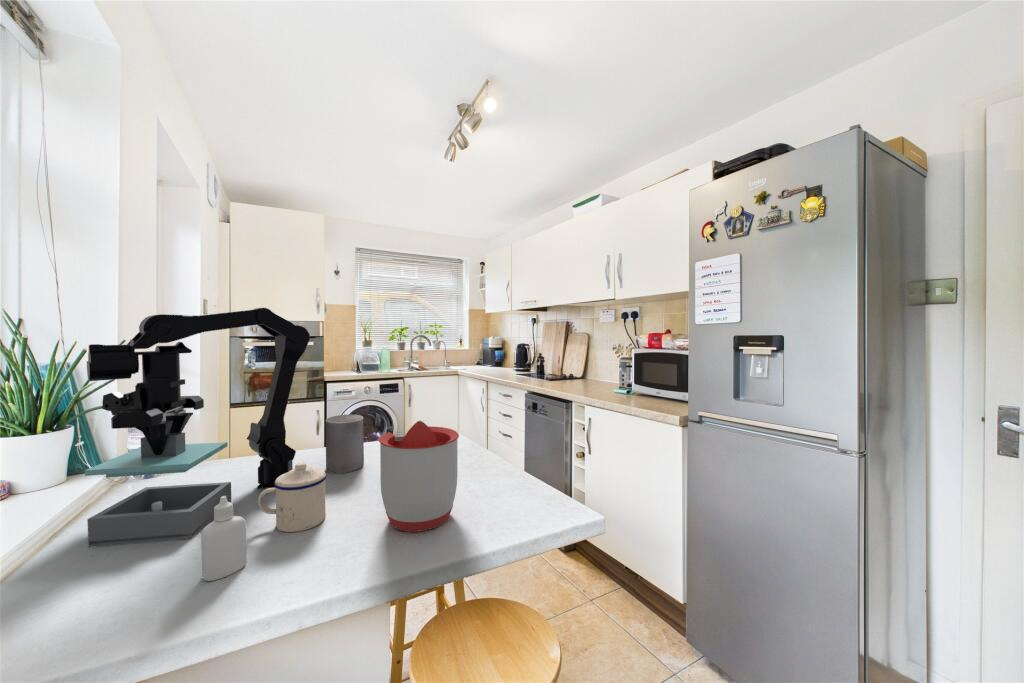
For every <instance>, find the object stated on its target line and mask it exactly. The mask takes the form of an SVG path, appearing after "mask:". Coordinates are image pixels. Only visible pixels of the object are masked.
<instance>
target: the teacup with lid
mask: <svg viewBox="0 0 1024 683" xmlns="http://www.w3.org/2000/svg"><path fill="white" fill-rule="evenodd" d="M326 479H327V474H326V472H325V471H324V470H322V469H320V468H313V467H310V466H307V463H306V462H297V463H296V464H295V465H294V468H293V469H292V470H290V471H289V472H287V473H285V474H282V475H281V476H279V477H278V478H277V479H276V481H275V483H274V486H275V487H276V488H265V489H264V490H263V491H262V492H260V494H259V495H258V498H257V503H258V507H259V509H260V510H261V511H262V512H263V513H265V514H268V515H275V521H276V522H275V524H276V526H275V527H276V528H277V529H278V530H279V531H281V532H284V533H296V532H303V531H307V530H310V529H312V528H314V527H316V526H318V525H320V524H321V523H323V521H324V520H325V518H326V515H327V514H326ZM271 493H275V508H270V507H268V506H266V504H265V502H264V496H265V495H267V494H271Z"/></svg>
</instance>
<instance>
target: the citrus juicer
mask: <svg viewBox="0 0 1024 683" xmlns="http://www.w3.org/2000/svg"><path fill="white" fill-rule="evenodd" d="M395 437H396V435H395V434H393V433H392V432H390V431H387V432H386V433H384V434H382V435H381V436H380V437H379V438H378V442H379V445H380V447H379V448H380V451H379V453H380V458H379V460H380V463H379V464H380V468H379V469H380V493H381V498H382V502H383V503H382V504H383V507H384V510H385V514H386V516H387V519H388V521H389V523H390V524H391V526H392V527H394V528H396V529H397V530H400V531H404V532H410V533H417V532H422V531H428V530H431V529H432V530H433V529H434V528H437V527H439V526H441V525H442V524H444V523H445V522H446V521H447V520H448V519H449V517H450V515H451V512H452V510H453V507H454V502H455V498H456V493H457V486H458V439H459V438H460V434H459V433H458V432H457V430H454V429H451V428H447V427H442V426H429V425H427V424H426V423H425V422H424V421H422V420H417V421H416V422H415V423H414V424H413V425H412V426H411V427H410V428H409V430H407V432H406V433H405V435H404V436H403V437H404V438H403V440H395Z"/></svg>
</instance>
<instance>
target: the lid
mask: <svg viewBox="0 0 1024 683" xmlns="http://www.w3.org/2000/svg"><path fill="white" fill-rule="evenodd" d="M227 447H228V441H223V442H222V441H221V442H206V443H202V442H201V443H187V444H186V432H182V433H169V435H168V438H167V441H166V444H165V447H164V450H163V453H162V454H161V455H154V453H153V451H152V449H151V447H150V445H149V443H148V441H147V439H146V437H145V436H143V437H140V446H139V447H137V448H135V449H132V450H131V451H128V452H125V453H123V454H121V455H117V456H116V457H113V458H111V459H109V460H107V461H103V462H102V463H99V464H97V465H94V466H92V467H90V468H87V469H85V470H84V477H85V476H87V477H89V476H102V475H105V478H106V479H108V478H118V477H119V478H120V477H136V476H148V475H149V476H151V475H165V474H179V473H186V472H188V471H189V470H191V469H193V468H194V467H196V466H197V465H199V464H201V463H202V462H204V461H206V460H207V459H209V458H211V457H212V456H215V455H216V454H218V453H219V452H221V451H222V450H224V449H226V448H227Z"/></svg>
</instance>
